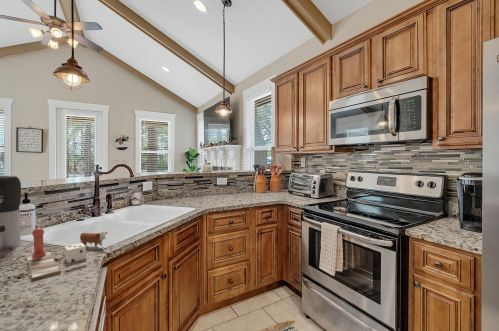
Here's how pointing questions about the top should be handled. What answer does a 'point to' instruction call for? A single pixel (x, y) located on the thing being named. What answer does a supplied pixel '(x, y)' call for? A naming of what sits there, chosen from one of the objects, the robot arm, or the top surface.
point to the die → (75, 252)
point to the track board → (43, 266)
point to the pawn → (38, 243)
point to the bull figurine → (92, 238)
